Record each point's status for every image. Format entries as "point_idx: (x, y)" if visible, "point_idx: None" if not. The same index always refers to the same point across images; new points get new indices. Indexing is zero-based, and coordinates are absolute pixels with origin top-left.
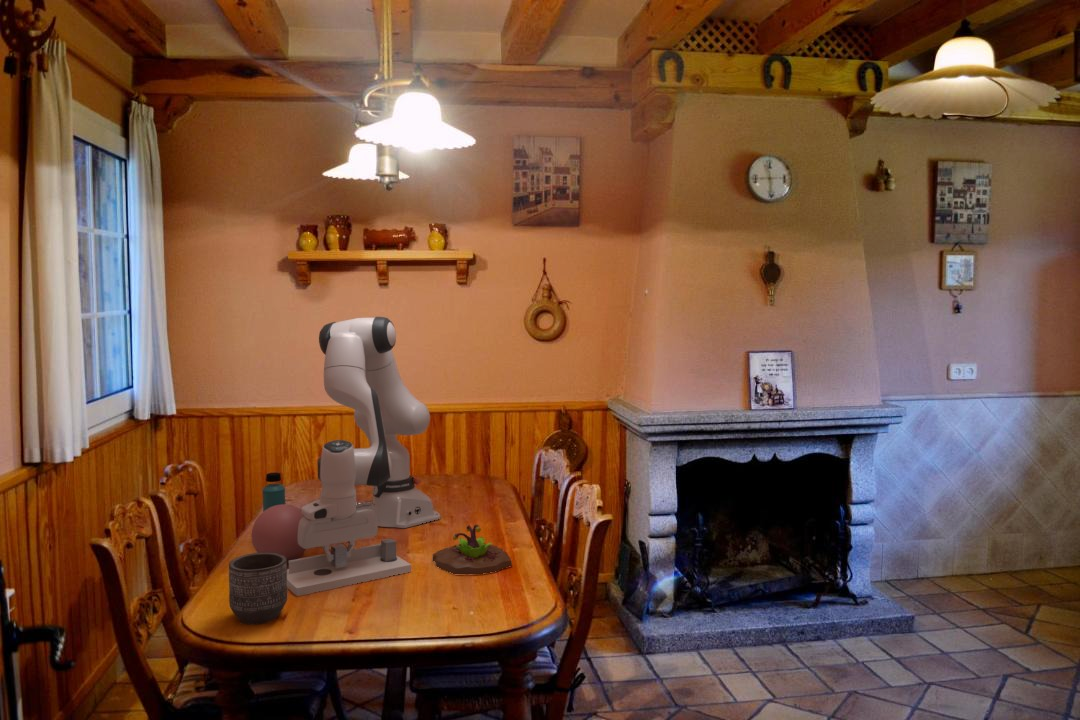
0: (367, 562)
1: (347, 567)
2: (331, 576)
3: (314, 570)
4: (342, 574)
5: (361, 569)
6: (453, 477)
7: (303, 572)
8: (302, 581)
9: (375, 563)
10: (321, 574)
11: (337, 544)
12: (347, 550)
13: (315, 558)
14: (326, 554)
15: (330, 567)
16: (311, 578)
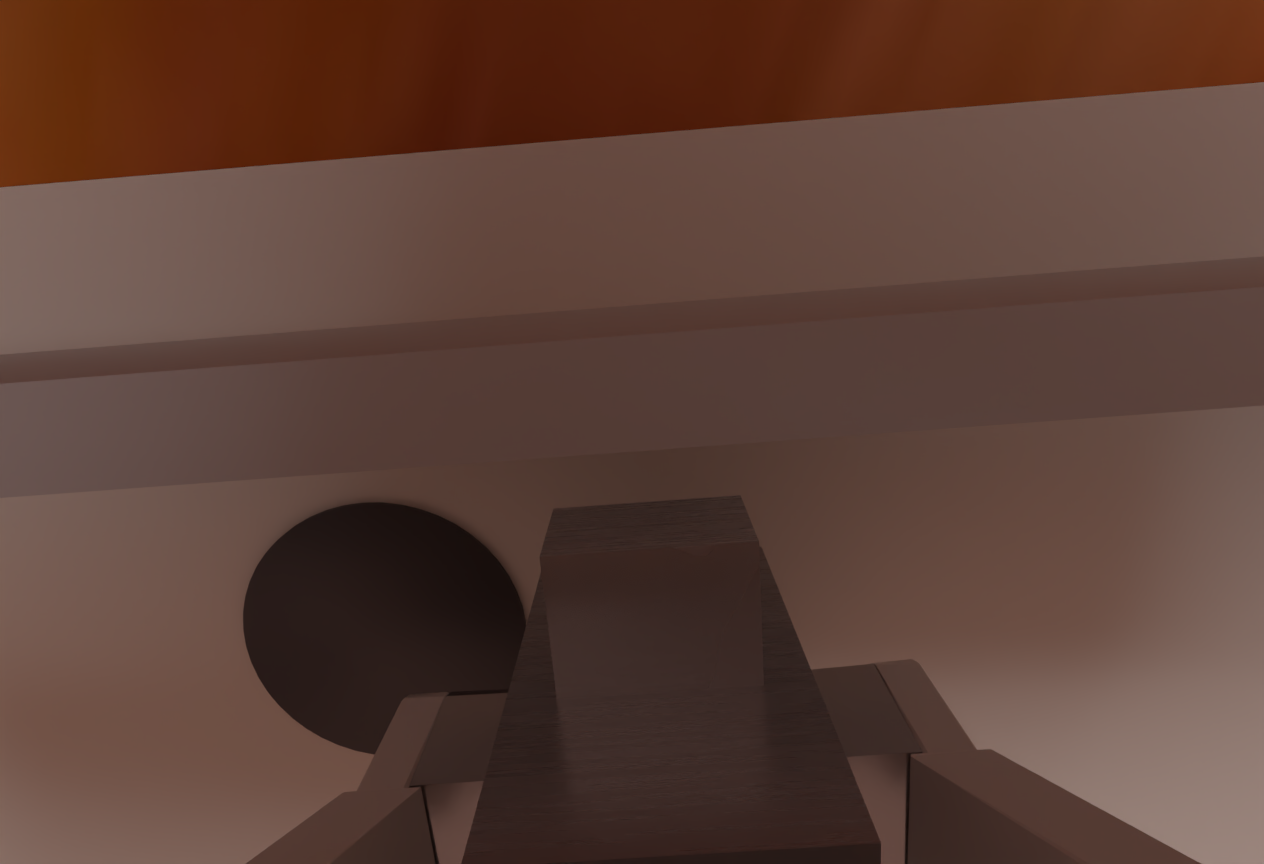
0: (1186, 534)
1: (802, 606)
2: None
3: (278, 490)
4: None
5: None
6: None
7: (92, 494)
8: (53, 830)
9: (1262, 638)
10: (344, 726)
11: (701, 859)
12: (908, 841)
13: (205, 472)
14: (365, 783)
15: (558, 473)
16: (187, 783)
